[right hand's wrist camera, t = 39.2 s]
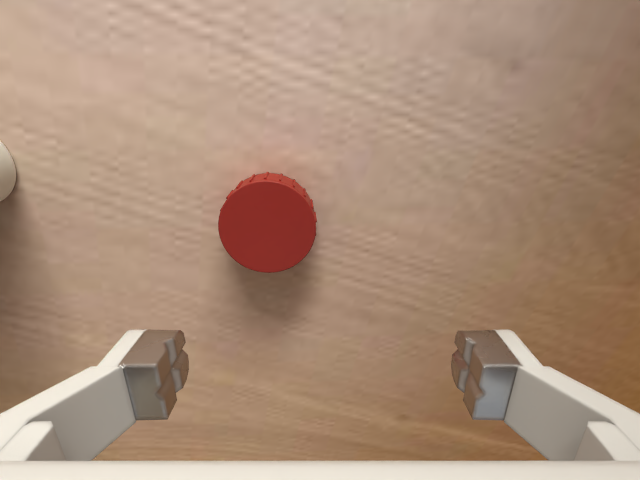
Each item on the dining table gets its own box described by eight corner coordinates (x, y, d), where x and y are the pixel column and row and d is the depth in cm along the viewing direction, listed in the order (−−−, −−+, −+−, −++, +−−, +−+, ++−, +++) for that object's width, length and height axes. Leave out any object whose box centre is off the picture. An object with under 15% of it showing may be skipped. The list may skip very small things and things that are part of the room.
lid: (207, 225, 21) (197, 238, 19) (258, 152, 20) (254, 157, 17) (280, 272, 22) (278, 290, 20) (333, 207, 21) (337, 219, 19)
